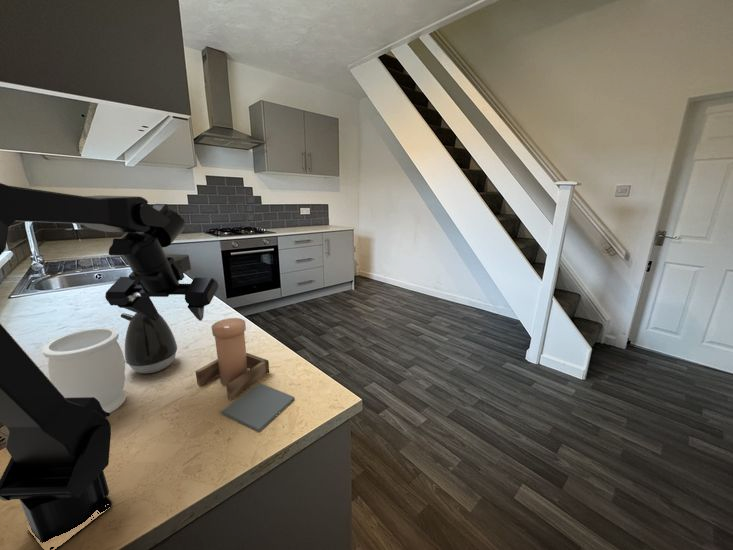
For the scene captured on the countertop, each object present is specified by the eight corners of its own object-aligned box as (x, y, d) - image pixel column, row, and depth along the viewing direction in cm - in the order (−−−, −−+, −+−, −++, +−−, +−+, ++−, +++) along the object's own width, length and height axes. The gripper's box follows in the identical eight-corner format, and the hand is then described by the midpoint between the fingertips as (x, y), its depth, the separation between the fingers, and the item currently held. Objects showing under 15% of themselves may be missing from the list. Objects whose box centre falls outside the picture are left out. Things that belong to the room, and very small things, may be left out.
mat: (259, 432, 53) (258, 429, 53) (221, 413, 57) (221, 410, 57) (294, 399, 62) (294, 396, 61) (259, 385, 66) (259, 382, 66)
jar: (63, 405, 58) (43, 338, 54) (128, 383, 65) (115, 322, 61) (62, 436, 51) (38, 361, 47) (136, 408, 58) (121, 340, 54)
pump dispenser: (146, 356, 76) (135, 302, 72) (187, 355, 77) (179, 302, 73) (116, 380, 66) (102, 319, 62) (164, 379, 67) (153, 319, 63)
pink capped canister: (232, 391, 63) (226, 334, 60) (211, 382, 66) (204, 326, 63) (256, 375, 69) (251, 321, 66) (236, 367, 72) (231, 315, 68)
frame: (231, 400, 61) (229, 386, 60) (197, 384, 65) (195, 371, 64) (269, 373, 70) (268, 360, 69) (237, 361, 75) (236, 349, 74)
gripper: (217, 239, 59) (235, 294, 69) (122, 237, 58) (154, 293, 68) (194, 273, 51) (219, 330, 61) (82, 271, 50) (126, 330, 60)
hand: (179, 319), depth 63 cm, fingers open, 9 cm apart
